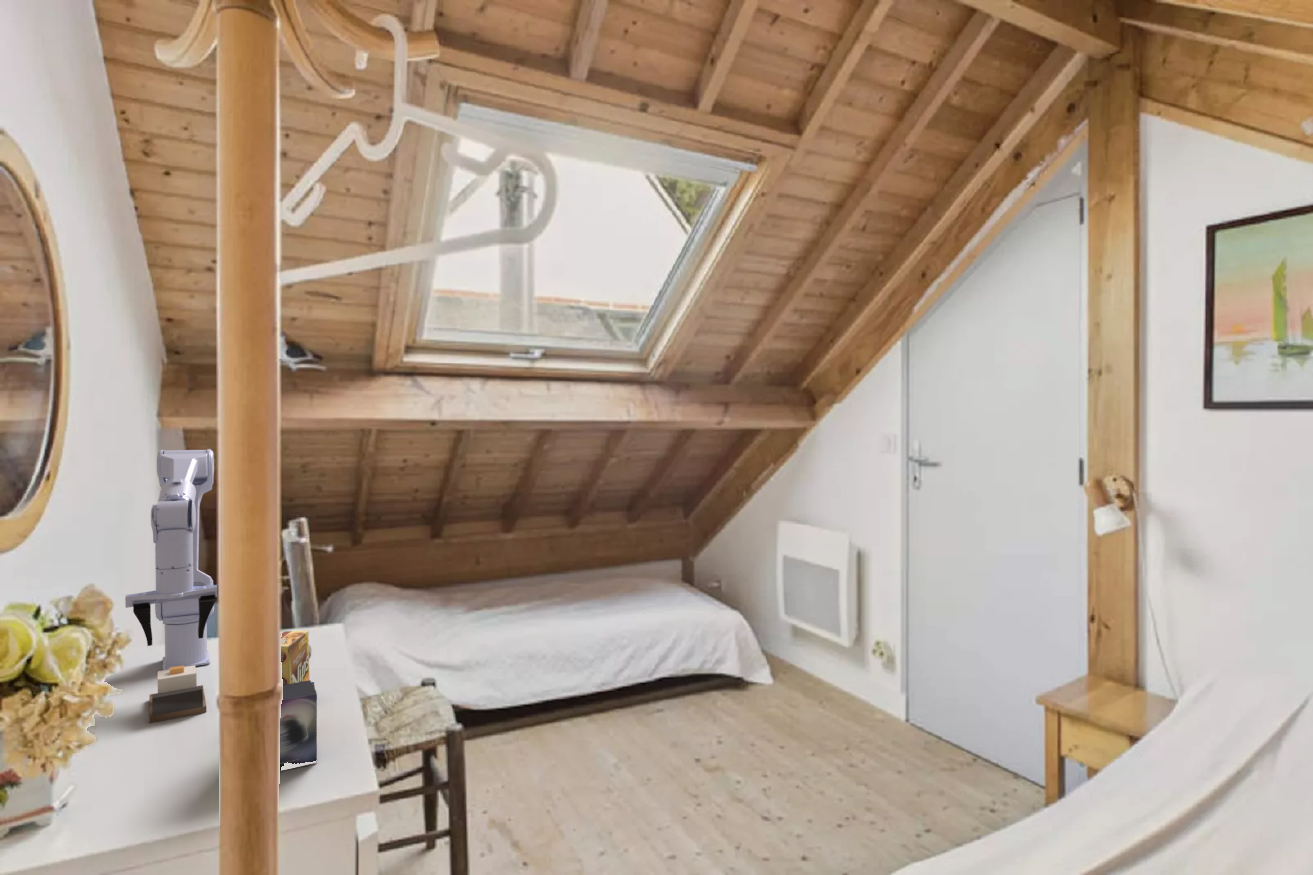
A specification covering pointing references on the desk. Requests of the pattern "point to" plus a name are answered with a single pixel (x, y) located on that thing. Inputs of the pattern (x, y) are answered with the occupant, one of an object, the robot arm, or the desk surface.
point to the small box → (298, 723)
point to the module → (177, 678)
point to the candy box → (295, 656)
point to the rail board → (176, 704)
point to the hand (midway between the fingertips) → (175, 640)
